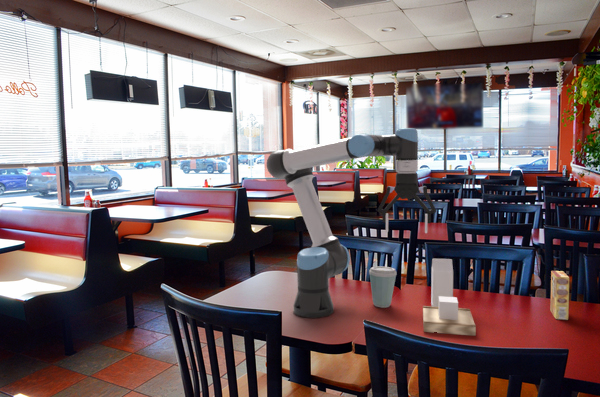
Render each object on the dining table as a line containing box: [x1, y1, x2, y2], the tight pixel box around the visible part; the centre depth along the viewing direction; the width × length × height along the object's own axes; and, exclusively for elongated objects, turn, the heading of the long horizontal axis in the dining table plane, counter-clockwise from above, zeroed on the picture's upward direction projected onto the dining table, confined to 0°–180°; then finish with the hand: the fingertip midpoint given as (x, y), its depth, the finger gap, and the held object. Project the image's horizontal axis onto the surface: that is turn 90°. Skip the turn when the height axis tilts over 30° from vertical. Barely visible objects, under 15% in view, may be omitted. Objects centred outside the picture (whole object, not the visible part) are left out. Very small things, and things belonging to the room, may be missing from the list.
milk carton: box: [430, 258, 454, 307], centre depth 169 cm, size 7×7×19 cm
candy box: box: [550, 270, 570, 321], centre depth 159 cm, size 9×4×15 cm, turn 162°
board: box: [422, 305, 477, 337], centre depth 153 cm, size 16×16×3 cm
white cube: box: [438, 296, 459, 320], centre depth 153 cm, size 6×6×6 cm
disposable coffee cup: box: [368, 266, 398, 309], centre depth 174 cm, size 11×11×15 cm
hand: (406, 232), depth 160 cm, fingers open, 13 cm apart
